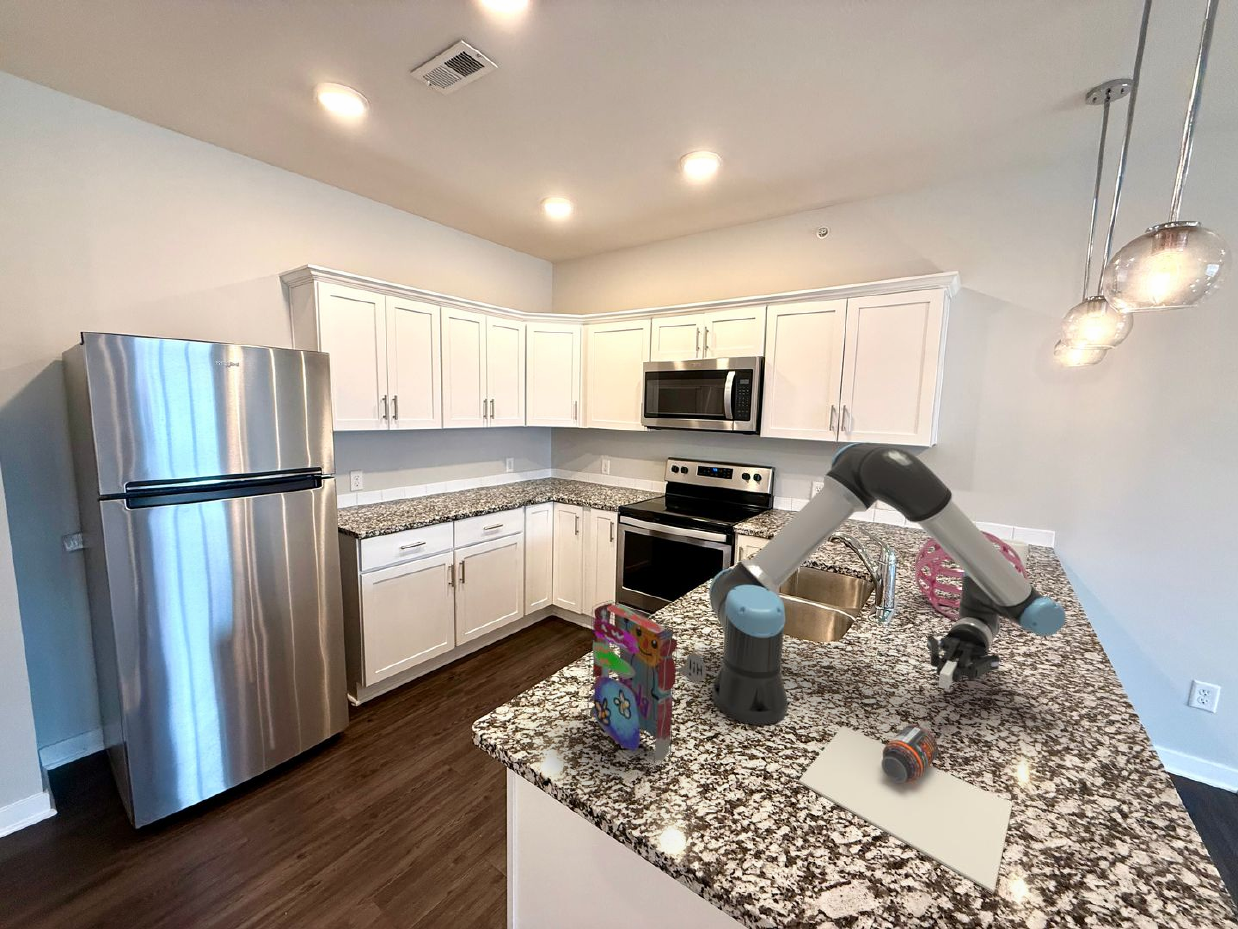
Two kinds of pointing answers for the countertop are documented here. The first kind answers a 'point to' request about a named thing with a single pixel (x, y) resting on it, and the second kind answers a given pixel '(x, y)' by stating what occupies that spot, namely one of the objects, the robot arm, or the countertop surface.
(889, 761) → the supplement bottle
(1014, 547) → the cup
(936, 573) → the spiral basket
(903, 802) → the mat
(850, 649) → the countertop surface
